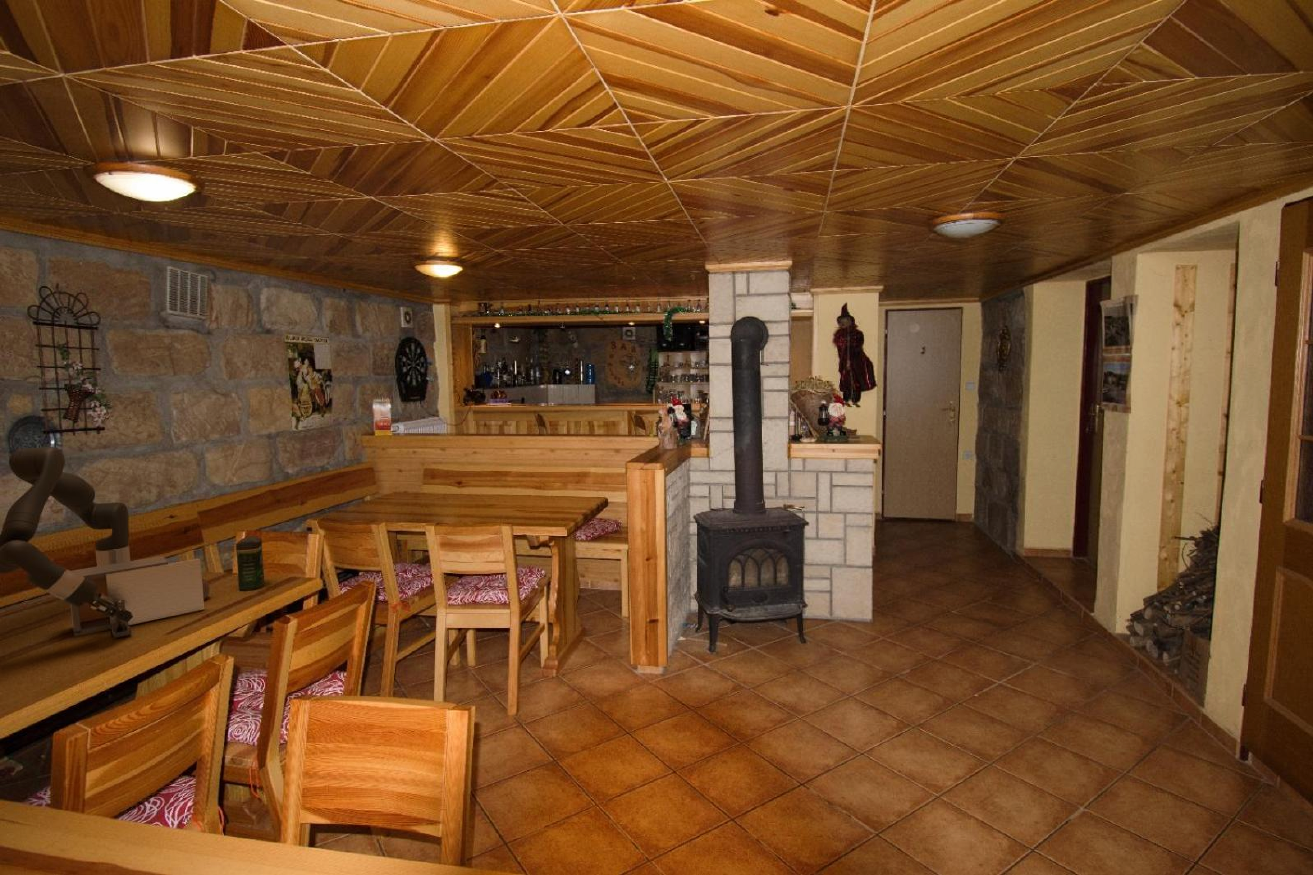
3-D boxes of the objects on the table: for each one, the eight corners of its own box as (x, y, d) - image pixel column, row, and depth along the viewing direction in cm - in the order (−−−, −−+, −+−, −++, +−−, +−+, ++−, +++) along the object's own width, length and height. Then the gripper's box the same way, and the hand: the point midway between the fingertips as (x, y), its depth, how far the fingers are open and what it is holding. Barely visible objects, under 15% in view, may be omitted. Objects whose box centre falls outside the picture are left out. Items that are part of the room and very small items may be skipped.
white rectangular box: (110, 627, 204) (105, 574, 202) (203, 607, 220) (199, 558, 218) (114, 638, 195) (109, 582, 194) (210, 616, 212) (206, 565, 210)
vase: (192, 604, 225) (190, 579, 224) (182, 601, 228) (180, 576, 227) (214, 598, 231) (212, 574, 230) (204, 595, 234) (202, 571, 233)
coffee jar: (261, 589, 240) (258, 539, 238) (236, 592, 237) (232, 541, 235) (267, 581, 249) (263, 533, 247) (242, 584, 246) (239, 535, 245)
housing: (73, 627, 205) (67, 571, 203) (167, 607, 222) (163, 555, 220) (74, 636, 198) (68, 578, 196) (172, 615, 215) (167, 561, 213)
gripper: (84, 582, 186) (143, 613, 195) (81, 571, 196) (137, 601, 205) (61, 605, 183) (121, 635, 192) (59, 593, 193) (117, 622, 202)
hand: (129, 617), depth 199 cm, fingers closed on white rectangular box, 2 cm apart
